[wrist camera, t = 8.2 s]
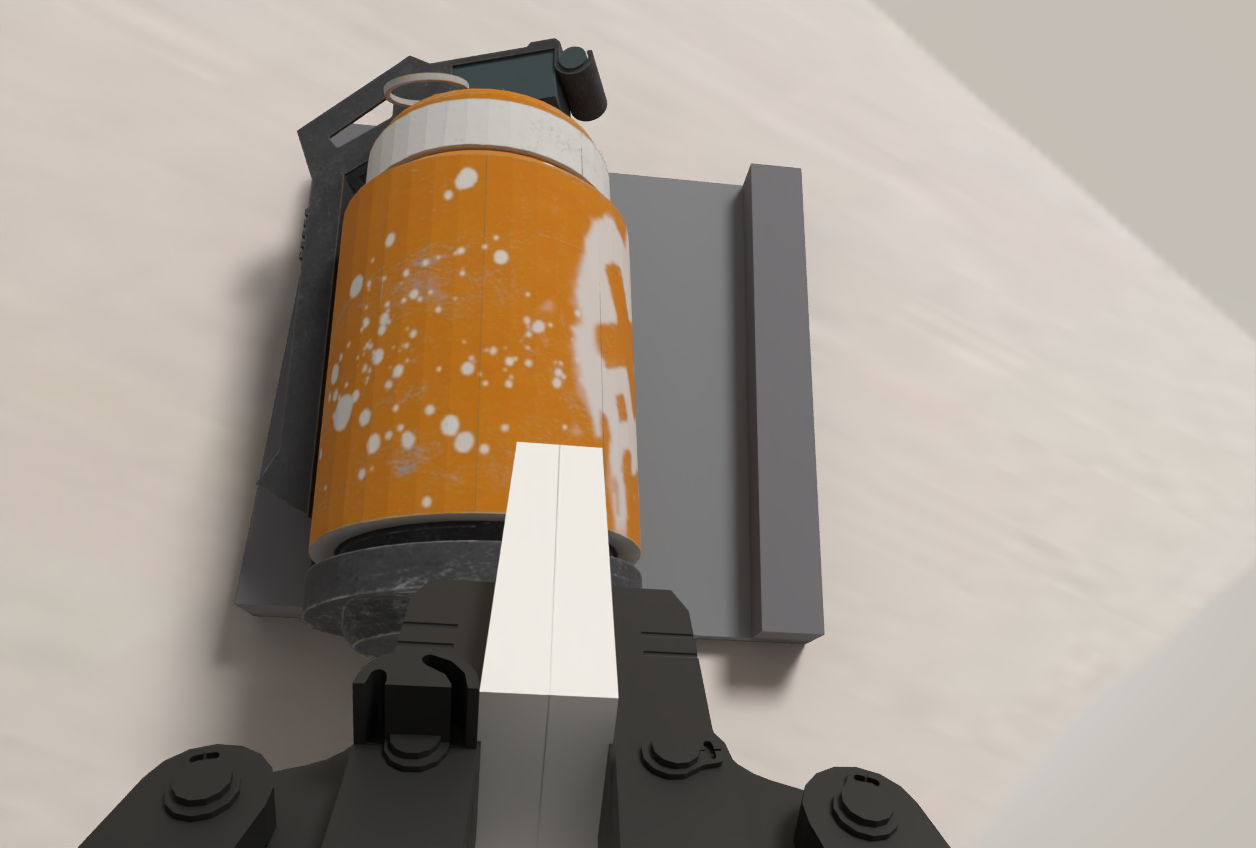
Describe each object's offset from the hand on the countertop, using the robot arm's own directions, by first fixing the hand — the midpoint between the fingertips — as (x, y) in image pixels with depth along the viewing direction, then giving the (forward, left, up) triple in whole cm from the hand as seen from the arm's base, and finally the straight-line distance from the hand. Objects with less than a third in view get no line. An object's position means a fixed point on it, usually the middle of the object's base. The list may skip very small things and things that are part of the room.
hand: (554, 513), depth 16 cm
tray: (0, +9, -14) cm, 17 cm away
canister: (-3, -1, -9) cm, 10 cm away
